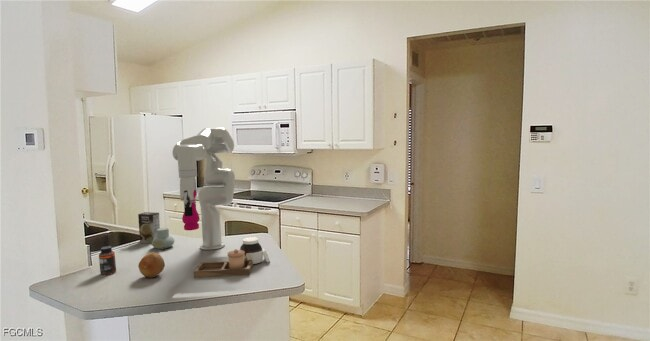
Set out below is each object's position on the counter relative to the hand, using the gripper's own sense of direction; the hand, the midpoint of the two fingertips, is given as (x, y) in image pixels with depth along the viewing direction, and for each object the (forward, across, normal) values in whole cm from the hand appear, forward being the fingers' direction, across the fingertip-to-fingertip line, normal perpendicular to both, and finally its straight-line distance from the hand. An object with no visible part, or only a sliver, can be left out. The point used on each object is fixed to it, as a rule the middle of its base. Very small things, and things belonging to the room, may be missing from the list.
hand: (190, 214), depth 166 cm
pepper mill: (+7, 0, 0) cm, 7 cm away
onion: (+24, +11, -14) cm, 30 cm away
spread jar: (+24, +2, +28) cm, 37 cm away
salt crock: (+22, +13, +21) cm, 33 cm away
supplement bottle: (+24, +4, -35) cm, 43 cm away
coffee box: (+25, -45, -36) cm, 63 cm away
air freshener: (+25, -32, -24) cm, 47 cm away
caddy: (+23, +13, +16) cm, 31 cm away
